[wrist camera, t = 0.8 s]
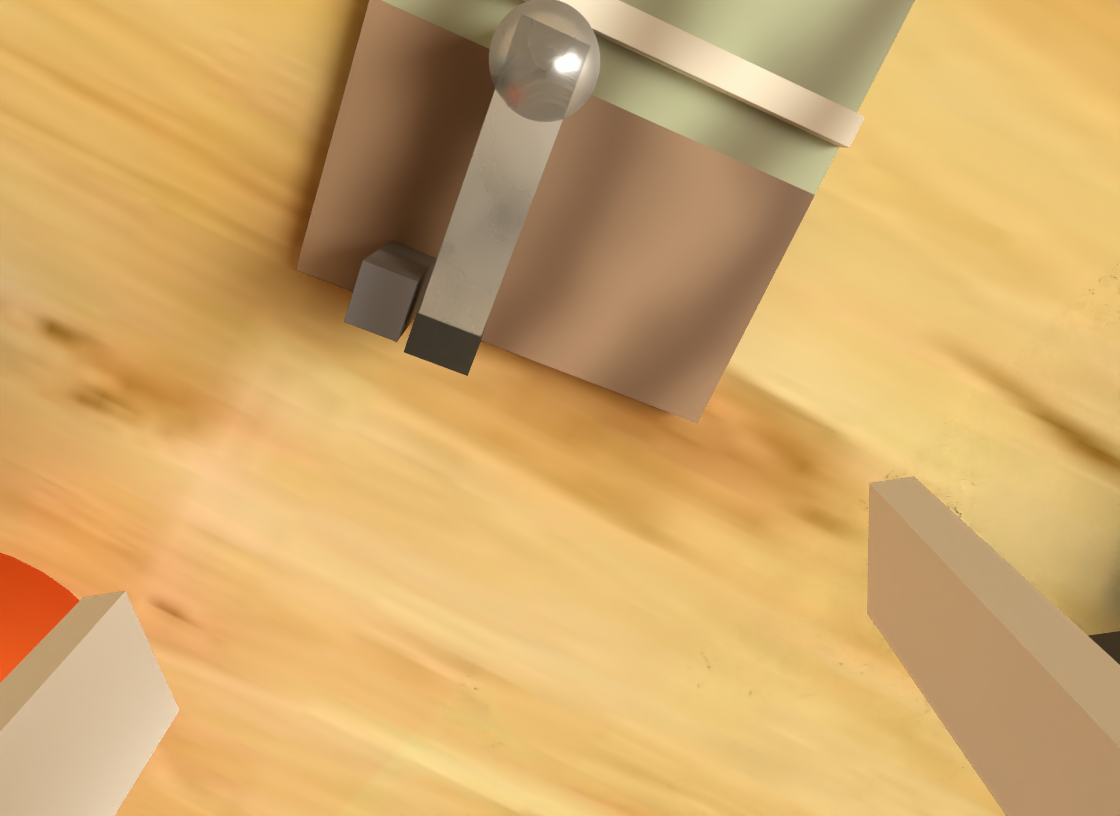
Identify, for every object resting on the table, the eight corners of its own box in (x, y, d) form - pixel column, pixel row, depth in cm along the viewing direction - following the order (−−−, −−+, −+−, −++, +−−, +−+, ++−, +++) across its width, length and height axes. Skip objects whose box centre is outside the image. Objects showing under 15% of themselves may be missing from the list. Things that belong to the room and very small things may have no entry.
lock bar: (518, 3, 26) (512, -23, 22) (606, 44, 27) (618, 27, 22) (412, 316, 30) (389, 346, 26) (490, 346, 31) (481, 380, 27)
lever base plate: (307, 263, 31) (249, 294, 25) (473, -338, 24) (449, -496, 18) (691, 411, 34) (722, 471, 28) (943, -86, 27) (1058, -150, 21)
